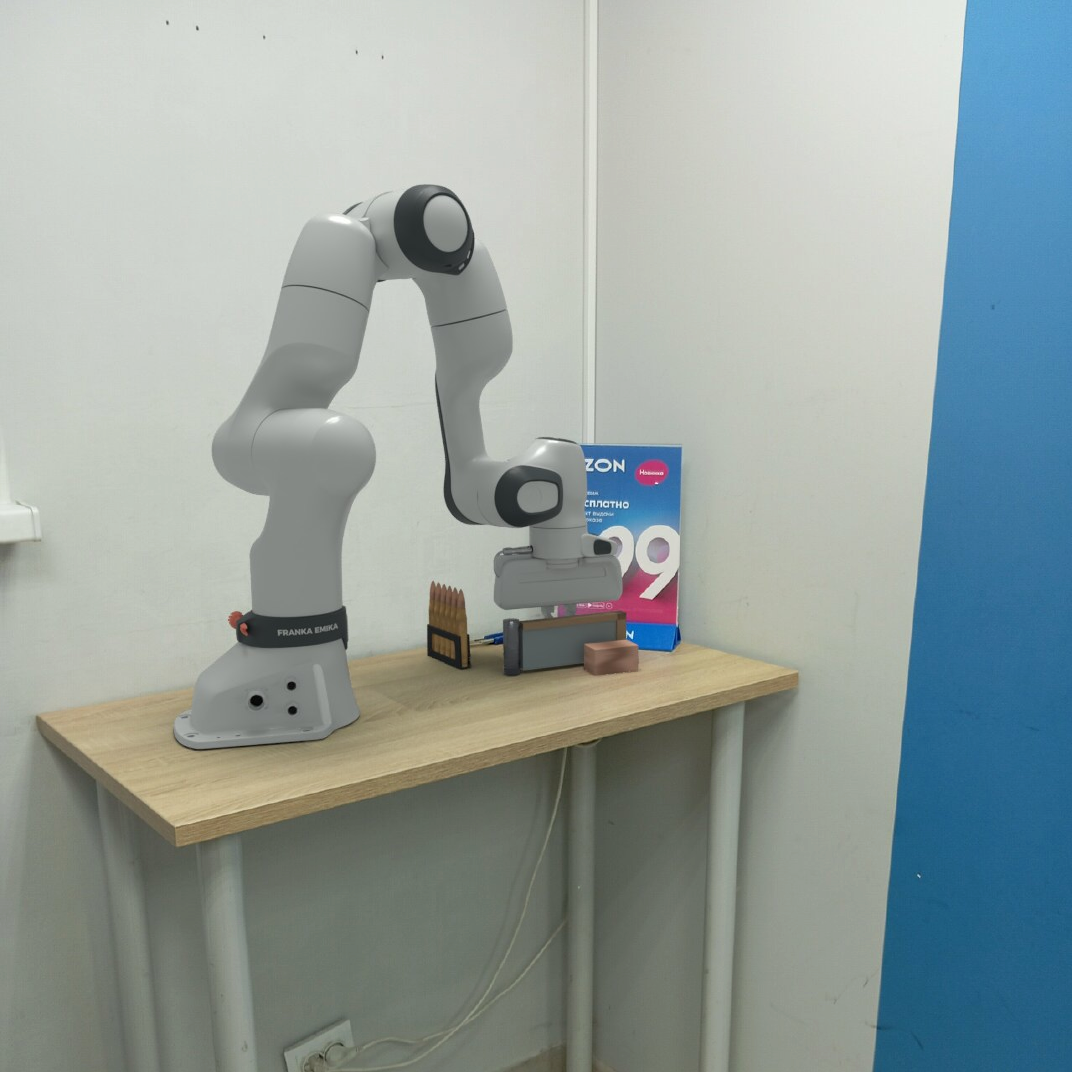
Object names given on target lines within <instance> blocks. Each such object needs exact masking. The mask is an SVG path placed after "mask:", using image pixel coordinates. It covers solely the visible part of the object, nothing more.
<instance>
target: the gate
mask: <svg viewBox="0 0 1072 1072" xmlns="http://www.w3.org/2000/svg"><path fill="white" fill-rule="evenodd" d="M519 630H520V670H522V671H530V670H538V669H544V668H545V669H546V668H554V667H562V666H568V665H569V666H570V665H577V664H584V644H589V643H599V642H608V641H618V640H627V612H625V611H623V610H612V611H603V612H593V613H582V614H575V615H572V616H564V615H563V616H553V618H545V617H544V618H535V619H526V620H519Z"/></svg>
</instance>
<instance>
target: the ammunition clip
mask: <svg viewBox="0 0 1072 1072" xmlns="http://www.w3.org/2000/svg"><path fill="white" fill-rule="evenodd" d="M430 583H431V584H430V587H429V602H428V603H429V604H428V623H427V624H426V639H427V640H426V649H427V650H426V656H427V657H429V658H431V659H434V660H436V661H439V662H441V663H443V664H446V665H448V666H451V667H453V668H455V669H457V670H461V671H462V670H466V669H470V668H471V665H472V664H471V644H470V642H471V641H470V640H471V639H470V638H471V637H470V634H469V633H468V617H467V611H466V601H465V599H466V598H465V595H464V592H463V590H462V588H460V589H459V590H458V589H457V587H454V588H452V587H451V585H448V587H447V586H446V584H445V583H444V584H442V585H441V583H440V582H437V583H435V581H434V580H432V581H431V582H430ZM452 589H453V590H452ZM458 591H459V592H458Z"/></svg>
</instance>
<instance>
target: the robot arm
mask: <svg viewBox="0 0 1072 1072" xmlns="http://www.w3.org/2000/svg"><path fill="white" fill-rule="evenodd" d="M301 229H302V230H301V231H300V233H299V236H298V238H297V240H296V242H295V245H294V247H293V249H292V252H291V255H290V258H289V261H288V263H287V266H286V270H285V272H284V277H283V281H282V285H281V287H280V288H281V289H280V291H279V296H278V297H279V298H278V301H277V305H276V308H275V313H274V316H273V321H272V325H271V330H270V333H269V337H268V341H267V345H266V347H265V351H264V353H263V355H262V357H261V361H260V363H259V365H258V367H257V369H256V371H255V373H254V376H253V378H252V380H251V381H250V383H249V385H248V386H247V388H246V391H245V393H244V395H243V397H242V398H241V401H239V404H238V405H237V407H236V408H235V410H234V411H233V413H231V415H230V416H228V418H227V419H226V420H224V422H222V423H221V424H220V425H219V427H218V429H216V432H215V433H214V436H213V439H212V443H211V457H212V461H213V466H214V467H215V470H216V471H217V473H218V474H219V476H220V477H221V478H222V479H224V480H225V481H226V482H227V483H228V484H231V485H232V486H234V487H236V488H238V489H240V490H243V491H245V492H246V493H248V494H252V495H256V496H257V495H258V496H264V497H265V496H266V497H267V496H268V497H269V502H268V508H267V514H266V518H265V523H264V526H263V529H262V531H261V533H260V535H259V537H258V538H257V539H256V540H255V541H254V542H253V543H252V544H251V546H250V549H249V569H250V586H251V587H250V591H251V608H252V609H250V610H248V612H246V613H244V614H243V612H241V611H237V610H235V611H231V613H230V615H228V618H227V620H228V623H229V625H230V627H231V628H233V629H235V634H236V641H237V642H236V643H235V644H234V645H233V646H232V647H231V648H229V649H228V650H227V651H225V653H223V654H222V655H221V656H220V657H218V659H216V660H215V661H214V662H213V663H211V664H210V665H209V666H208V667H207V668H205V669H204V670H203V671H202V672H201V673H200V674H199V676H198V677H197V678H196V682H195V685H194V689H193V692H192V698H191V699H192V700H191V708H190V709H188V710H185V711H183V712H181V713H180V714H179V715H177V717H176V718H175V720H174V722H173V734H174V737H175V739H176V740H177V741H178V743H180V744H181V745H183V746H184V747H185V746H186V747H188V748H190V749H196V750H205V749H218V748H230V747H240V746H241V747H242V746H243V747H244V746H254V745H265V744H277V743H278V744H279V743H289V742H301V741H303V742H304V741H313V740H315V741H316V740H321V739H324V738H326V737H328V736H330V735H331V734H332V733H333V732H334V731H336V730H337V729H340V728H343V727H345V726H348V725H350V724H351V723H353V722H355V721H356V720H357V719H358V718H359V717H360V715H361V710H360V708H359V706H358V703H357V700H356V697H355V696H356V695H355V693H354V689H353V683H352V680H351V679H352V678H351V676H350V669H349V664H348V657H347V650H348V647H349V646H348V642H349V619H348V614H347V607H346V606H345V605H343V572H342V571H343V569H342V565H343V563H342V558H343V557H342V552H343V541H344V536H345V530H346V525H347V523H348V518H349V515H350V513H351V512H350V511H351V509H352V506H353V505H354V501H355V499H356V497H357V496H358V494H359V493H360V492H361V491H363V489H364V488H365V487H366V485H367V484H368V483H369V482H370V480H371V478H372V477H373V474H374V472H375V468H376V463H377V450H376V444H375V441H374V438H373V436H372V434H371V432H370V430H369V429H368V427H366V425H365V424H363V422H361V421H360V420H359V419H357V418H356V417H352V416H350V415H347V414H345V413H342V412H340V411H339V412H338V411H336V410H332V409H329V407H330V405H331V403H332V401H333V400H334V398H335V397H336V395H338V393H339V391H340V390H342V388H343V387H344V386H346V384H347V383H349V382H350V381H351V380H352V378H353V377H354V375H355V374H356V371H357V369H358V365H359V361H360V356H361V352H362V349H363V345H364V344H363V343H364V339H365V334H366V329H367V325H368V320H369V316H370V311H371V307H372V302H373V295H374V290H375V288H376V287H375V286H376V285H377V283H381V282H386V281H394V280H408V279H409V280H410V279H411V280H412V281H413V282H414V283H415V284H416V286H417V287H418V289H419V290H420V292H421V293H422V295H423V297H424V302H425V308H426V313H427V314H426V315H427V319H428V322H429V326H430V331H431V337H432V340H433V341H432V342H433V345H434V346H433V347H434V352H435V374H434V386H435V387H434V388H435V389H434V391H435V398H436V407H437V413H438V419H439V427H440V432H441V440H442V446H443V453H444V463H445V465H444V466H445V467H444V478H443V498H444V503H445V505H446V508H447V510H448V511H449V513H450V514H451V515H452V517H453V518H454V519H456V520H457V521H459V522H460V523H463V524H464V525H468V526H469V525H470V526H493V527H499V528H509V529H522V528H528V529H529V533H528V534H529V541H528V542H529V544H528V545H526V546H525V545H523V546H517V547H503V548H502V550H500V551H498V552H497V553H496V554H495V556H494V557H493V573H494V575H495V578H494V584H493V585H494V586H493V602H494V603H495V605H496V606H497V607H498V608H500V609H502V610H504V611H508V610H509V611H510V610H519V609H520V610H521V609H523V610H524V609H530V608H531V609H532V608H540V611H541V614H542V616H543V617H544V618H553V617H554V616H553V613H555V607H556V606H562V608H563V609H564V610H565V612H564V614H563V616H572V615H576V613H577V611H578V610H577V609H578V608H577V607H578V605H579V604H588V603H602V602H613V601H618V600H619V599H620V598H621V596H622V594H623V591H624V590H623V589H624V588H623V587H624V586H623V575H622V574H623V571H622V566H621V562H620V560H619V559H618V557H616V556H615V555H616V554H617V553H618V543H617V542H616V541H615V540H612V539H610V538H607V537H603V536H600V535H598V534H596V533H593V532H589V531H588V521H587V520H588V519H587V517H586V513H585V511H586V510H585V507H586V503H587V500H588V499H587V498H588V477H587V475H588V474H587V466H586V465H587V463H586V459H585V458H586V457H585V454H584V450H583V448H582V447H581V445H580V444H579V443H577V442H576V441H573V440H570V439H567V438H566V439H565V438H559V437H558V438H557V437H551V436H539V437H536V438H534V439H533V440H532V442H531V444H530V445H529V446H527V448H525V450H523V451H522V452H521V453H518V454H517V455H515V456H513V457H512V458H509V459H507V460H506V461H494V460H493V459H492V458H491V457H490V456H489V455H488V453H487V451H486V447H485V446H486V445H485V440H484V438H485V437H484V432H483V425H482V417H481V409H480V400H481V395H482V392H483V390H484V389H485V387H486V385H487V384H489V383H490V382H491V381H492V380H493V379H495V378H496V377H497V376H498V375H499V374H500V373H501V372H502V371H503V370H504V369H505V367H506V366H507V364H508V362H509V360H510V358H511V357H512V353H513V351H514V350H513V341H514V340H513V329H512V323H511V319H510V315H509V310H508V306H507V302H506V299H505V295H504V291H503V287H502V284H501V281H500V278H499V275H498V272H497V269H496V267H495V265H494V262H493V260H492V256H491V255H490V253H489V251H488V248H487V247H486V245H485V244H484V243H483V242H482V240H479V238H476V237H475V232H474V229H473V224H472V221H471V218H470V215H469V213H468V210H467V209H466V207H465V205H464V203H463V202H462V200H461V199H460V198H459V197H458V196H457V194H456V193H455V192H454V191H452V189H450V188H447V187H446V186H442V185H439V184H428V183H427V184H426V183H425V184H416V185H414V186H411V187H409V188H404V189H399V190H394V191H393V190H390V191H385V192H383V193H380V194H377V195H375V196H373V197H371V198H368V199H366V200H364V201H360V202H357V203H355V204H353V205H352V206H350V207H348V208H347V209H346V210H345V211H344V212H342V213H338V212H325V213H319V214H316V215H314V216H313V217H311V218H310V219H309V220H308V221H307V222H306V223H305V224H304V226H303V227H302V228H301Z"/></svg>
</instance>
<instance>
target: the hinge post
mask: <svg viewBox="0 0 1072 1072" xmlns="http://www.w3.org/2000/svg"><path fill="white" fill-rule="evenodd" d="M519 621H520V619H519V618H513V617H512V618H504V619H502V639H503V640H502V641H503V643H502V644H503V645H502V647H503V648H502V651H503V652H502V653H503V654H502V655H503V675H504V676H506V677H517V676H519V675H520V674H521V669H520V630H519Z"/></svg>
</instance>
